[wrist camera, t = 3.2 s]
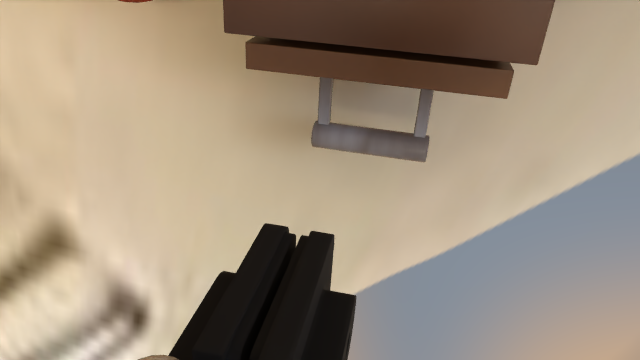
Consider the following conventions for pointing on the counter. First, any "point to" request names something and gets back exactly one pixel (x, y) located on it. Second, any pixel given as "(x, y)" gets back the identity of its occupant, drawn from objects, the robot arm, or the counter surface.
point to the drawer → (383, 70)
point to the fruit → (135, 0)
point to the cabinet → (403, 25)
